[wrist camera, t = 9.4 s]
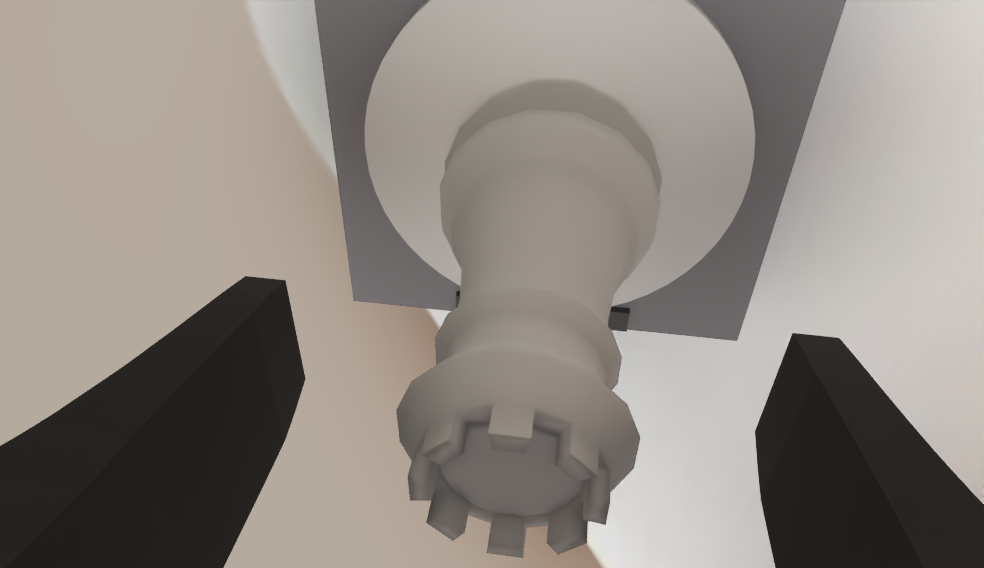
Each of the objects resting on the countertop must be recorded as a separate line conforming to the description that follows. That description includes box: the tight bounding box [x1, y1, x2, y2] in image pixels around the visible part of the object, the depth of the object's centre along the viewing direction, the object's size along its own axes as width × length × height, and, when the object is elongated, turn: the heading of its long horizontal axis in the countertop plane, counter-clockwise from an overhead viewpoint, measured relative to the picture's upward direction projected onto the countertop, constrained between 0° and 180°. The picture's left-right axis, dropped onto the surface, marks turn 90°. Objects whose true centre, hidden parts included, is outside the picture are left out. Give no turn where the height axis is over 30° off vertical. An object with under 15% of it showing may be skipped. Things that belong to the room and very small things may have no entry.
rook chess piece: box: [397, 86, 662, 558], centre depth 12 cm, size 4×4×8 cm
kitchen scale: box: [314, 0, 846, 341], centre depth 16 cm, size 10×10×3 cm
